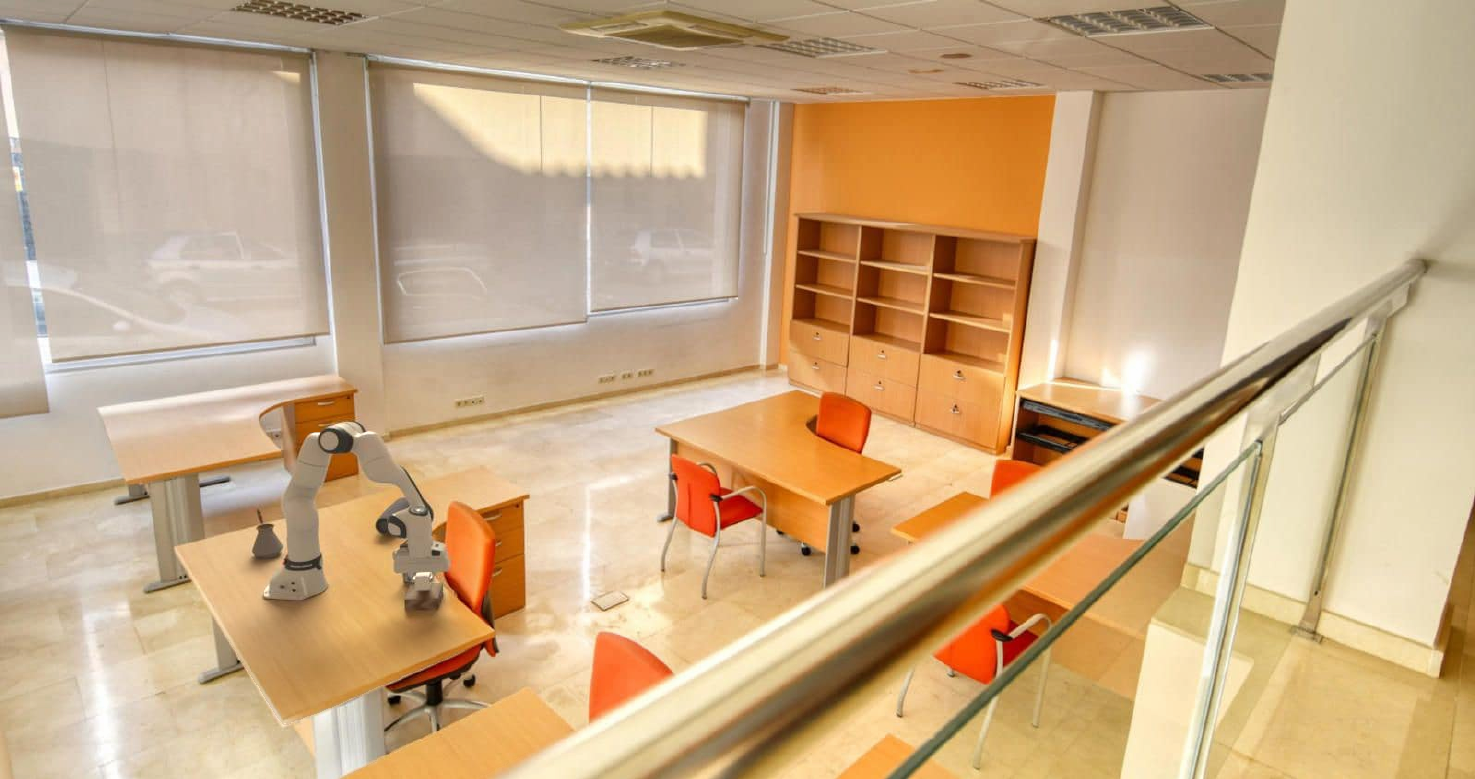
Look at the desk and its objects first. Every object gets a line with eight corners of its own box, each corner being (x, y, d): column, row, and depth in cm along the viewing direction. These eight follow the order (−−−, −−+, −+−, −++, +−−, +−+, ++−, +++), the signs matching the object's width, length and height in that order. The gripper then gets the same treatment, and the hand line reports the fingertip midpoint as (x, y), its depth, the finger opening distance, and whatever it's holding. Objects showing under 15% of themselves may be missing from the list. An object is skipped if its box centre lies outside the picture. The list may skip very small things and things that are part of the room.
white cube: (415, 590, 329) (414, 578, 328) (417, 583, 334) (417, 571, 333) (429, 589, 330) (428, 577, 329) (431, 583, 335) (430, 571, 333)
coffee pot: (286, 556, 364) (282, 523, 360) (255, 563, 357) (251, 530, 353) (276, 537, 380) (272, 505, 376) (246, 543, 374) (242, 511, 370)
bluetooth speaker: (396, 538, 384) (394, 517, 382) (375, 537, 384) (373, 516, 382) (415, 516, 406) (413, 496, 403) (395, 515, 406) (393, 495, 404)
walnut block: (405, 611, 327) (404, 599, 326) (411, 595, 339) (410, 583, 337) (438, 610, 329) (437, 598, 328) (443, 594, 341) (442, 582, 339)
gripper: (390, 553, 323) (392, 586, 327) (447, 551, 326) (449, 584, 330) (393, 545, 329) (396, 578, 333) (450, 544, 332) (451, 576, 336)
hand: (423, 581), depth 332 cm, fingers closed on white cube, 5 cm apart
